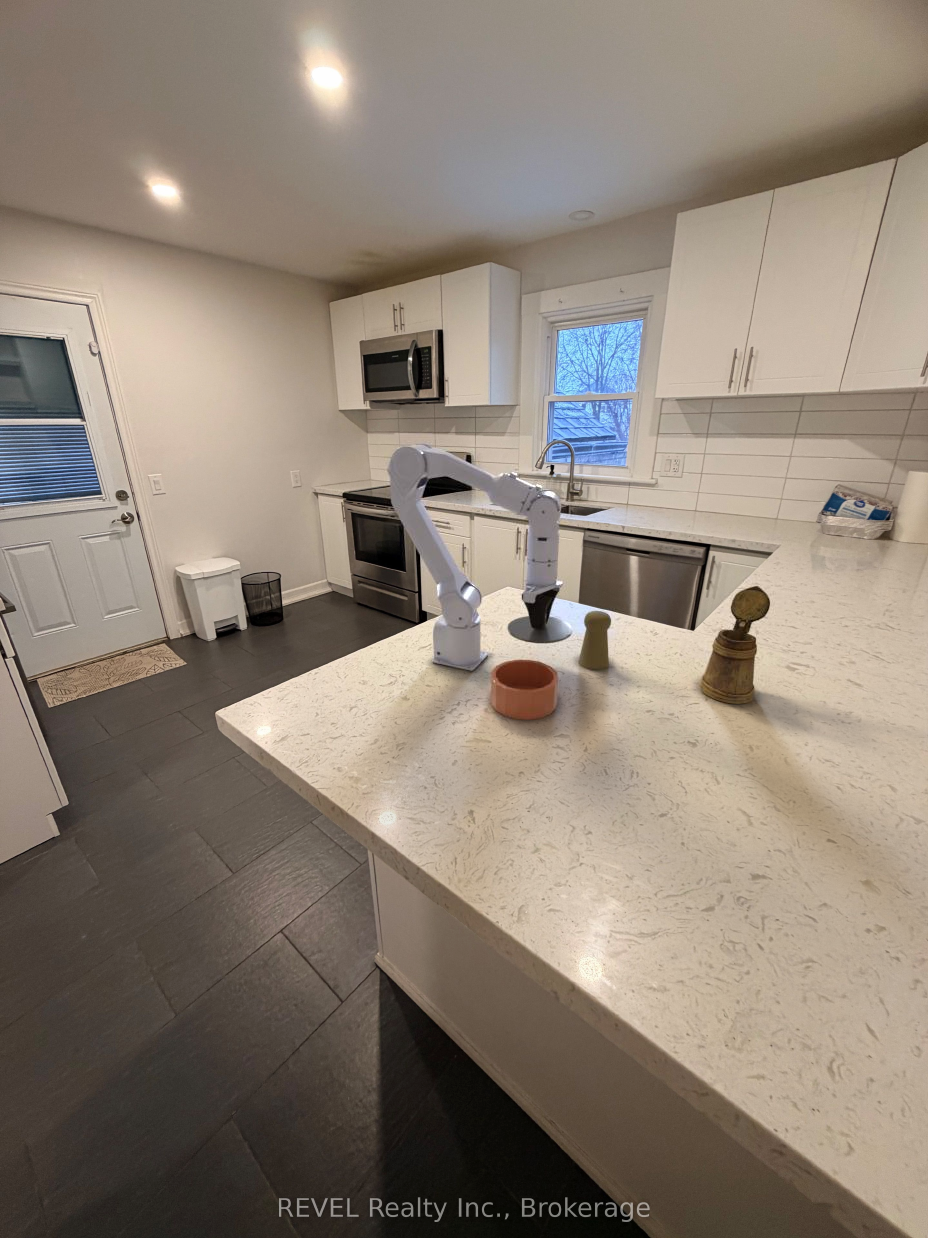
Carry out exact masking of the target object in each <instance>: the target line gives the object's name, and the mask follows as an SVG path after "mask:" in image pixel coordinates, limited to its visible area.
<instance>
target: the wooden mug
mask: <svg viewBox="0 0 928 1238" xmlns="http://www.w3.org/2000/svg"><path fill="white" fill-rule="evenodd" d="M770 607H771V600H770V597H769V595H768V593H767V592H766V591H764V590H763V589H762V588H761V587H759V586H758V585H754V586H750V587H748V588H745V589H743V590H740V591H738V592H736V593H735V595H734V597H733V598H732V602H731V605H730V612H731V614H732V616H733V617H734V619H735V623H734V625H733V628H732V629H721V630H719V632H718V633H717V636H716V637H715V638H714V639H713V640H714V641H713V643H712V645H711V648H712V651H711V654H710V656H709V659H708V663H707V665H706V667H705V670H704V673H703V674H702V676H701V679H700V683H699V688H700V690H701V692H702V693H704V694H705V695H706V696H708V697H710V698H712V699H714V700H716V701H719V702H723V703H727V704H738V705H740V704H747V703H750V702H752V701H753V699H754V697H755V695H754V694H755V685H754V676H755V675H754V674H755V659H756V655H757V653H758V644H757V637H756V636H755V635H752V634H750V630H751V628H752V624H753V623H754V622H757V621H759V620H761V619H764V618H765V617H766V615H767V614H768V613H769V611H770Z"/></svg>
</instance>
